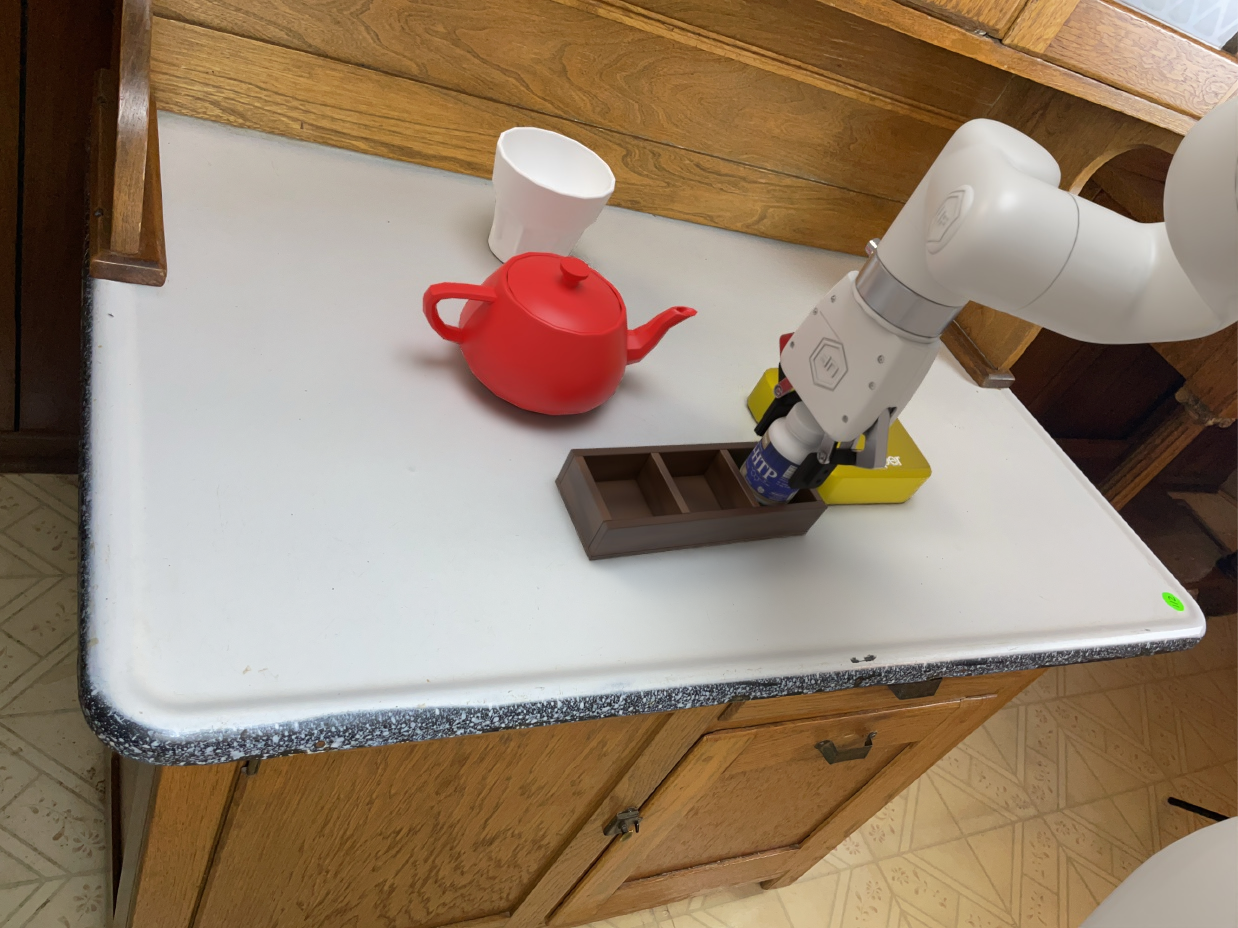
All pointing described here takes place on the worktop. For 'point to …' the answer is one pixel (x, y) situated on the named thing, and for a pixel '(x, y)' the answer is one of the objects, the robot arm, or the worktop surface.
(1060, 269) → the robot arm
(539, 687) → the worktop surface
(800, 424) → the pill bottle
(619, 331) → the teapot
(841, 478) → the element tile
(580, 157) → the cup
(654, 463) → the rack
